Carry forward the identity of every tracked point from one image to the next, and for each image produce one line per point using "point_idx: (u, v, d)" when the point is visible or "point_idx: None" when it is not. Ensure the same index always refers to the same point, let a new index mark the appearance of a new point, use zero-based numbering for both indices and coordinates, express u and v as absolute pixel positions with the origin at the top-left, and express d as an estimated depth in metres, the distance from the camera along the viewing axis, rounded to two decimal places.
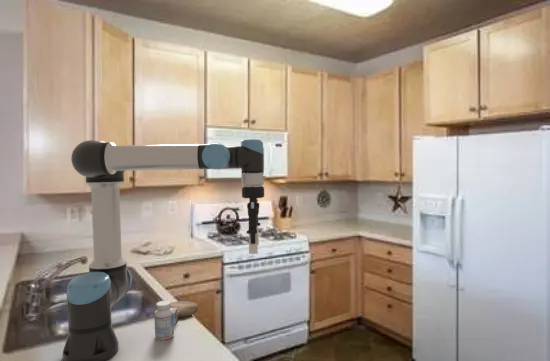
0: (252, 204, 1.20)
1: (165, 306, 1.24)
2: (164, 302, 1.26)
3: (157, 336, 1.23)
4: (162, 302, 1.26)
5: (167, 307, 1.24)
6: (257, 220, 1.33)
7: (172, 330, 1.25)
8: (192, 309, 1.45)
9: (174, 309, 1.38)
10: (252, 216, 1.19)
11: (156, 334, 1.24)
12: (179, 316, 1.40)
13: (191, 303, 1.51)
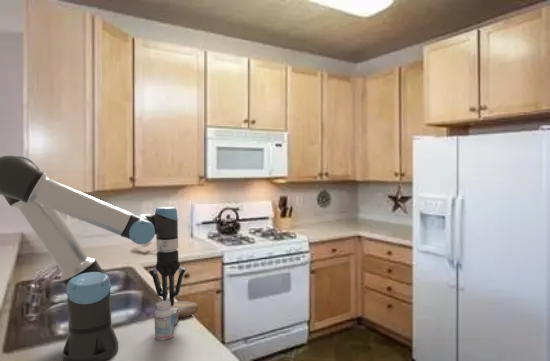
0: None
1: (165, 306, 1.24)
2: (164, 302, 1.26)
3: (157, 336, 1.23)
4: (162, 302, 1.26)
5: (167, 307, 1.24)
6: (169, 288, 1.36)
7: (172, 330, 1.25)
8: (192, 309, 1.45)
9: (175, 309, 1.38)
10: None
11: (156, 334, 1.24)
12: (180, 316, 1.40)
13: (191, 303, 1.51)
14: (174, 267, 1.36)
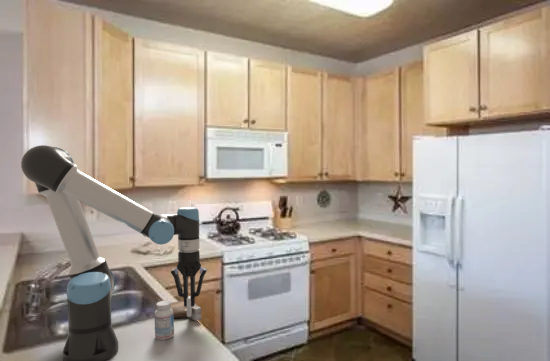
0: None
1: (165, 306, 1.24)
2: (164, 302, 1.26)
3: (157, 336, 1.23)
4: (162, 302, 1.26)
5: (167, 307, 1.24)
6: None
7: (172, 330, 1.25)
8: None
9: (194, 305, 1.41)
10: None
11: (156, 334, 1.24)
12: None
13: (182, 302, 1.52)
14: (195, 267, 1.36)
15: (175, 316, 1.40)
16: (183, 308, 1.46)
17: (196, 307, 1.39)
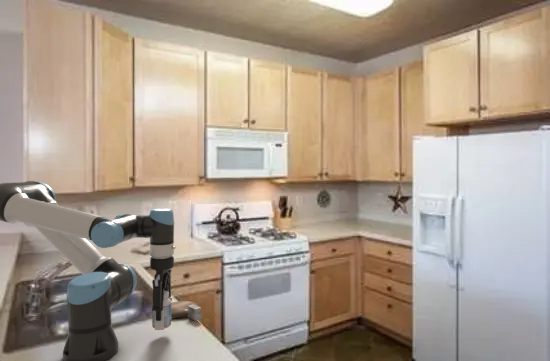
0: (156, 283, 1.19)
1: None
2: None
3: (154, 325, 1.23)
4: None
5: (165, 297, 1.24)
6: None
7: (169, 320, 1.25)
8: (194, 304, 1.49)
9: (194, 305, 1.41)
10: (156, 295, 1.19)
11: (153, 323, 1.24)
12: None
13: (182, 302, 1.52)
14: (167, 272, 1.28)
15: (175, 316, 1.40)
16: (183, 308, 1.46)
17: (196, 307, 1.39)
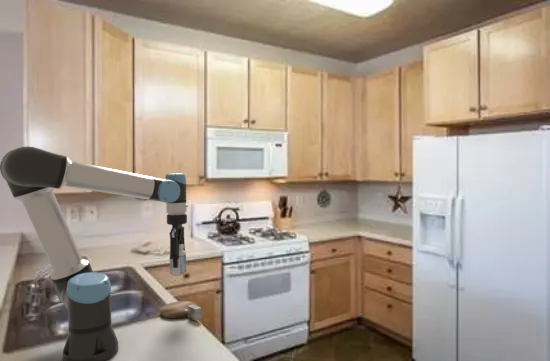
0: (172, 234, 1.39)
1: (179, 247, 1.44)
2: None
3: None
4: None
5: (181, 248, 1.44)
6: None
7: (185, 268, 1.45)
8: (194, 304, 1.49)
9: (194, 305, 1.41)
10: (173, 245, 1.39)
11: (171, 271, 1.44)
12: None
13: (182, 302, 1.52)
14: (181, 228, 1.48)
15: (175, 316, 1.40)
16: (183, 308, 1.46)
17: (196, 307, 1.39)
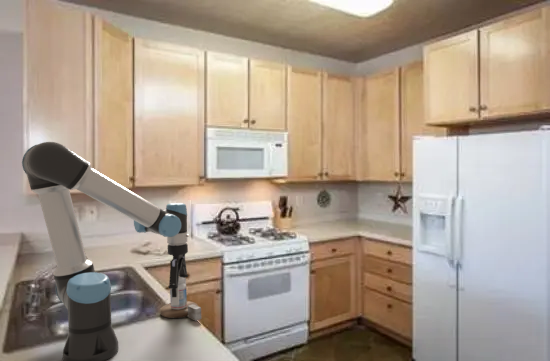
0: (173, 263, 1.39)
1: (179, 281, 1.45)
2: None
3: (173, 306, 1.44)
4: None
5: (181, 282, 1.45)
6: (184, 272, 1.51)
7: (185, 302, 1.46)
8: (194, 304, 1.49)
9: (194, 305, 1.41)
10: (173, 273, 1.38)
11: (172, 305, 1.44)
12: None
13: None
14: (182, 257, 1.49)
15: (175, 316, 1.40)
16: None
17: (196, 307, 1.39)
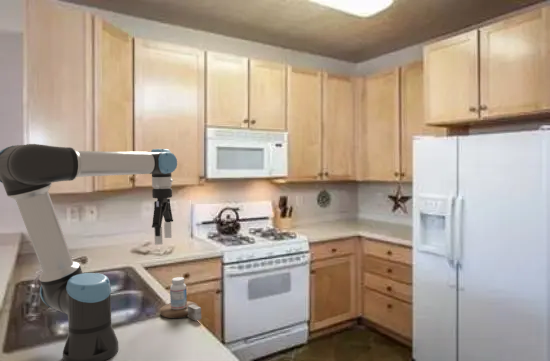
0: (157, 203, 1.44)
1: (180, 281, 1.44)
2: (178, 278, 1.47)
3: (173, 307, 1.44)
4: (176, 278, 1.47)
5: (181, 282, 1.45)
6: (169, 217, 1.57)
7: (185, 302, 1.46)
8: (194, 304, 1.49)
9: (194, 305, 1.41)
10: (156, 213, 1.43)
11: (172, 305, 1.44)
12: None
13: None
14: (167, 202, 1.54)
15: (175, 316, 1.40)
16: None
17: (196, 307, 1.39)
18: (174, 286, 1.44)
